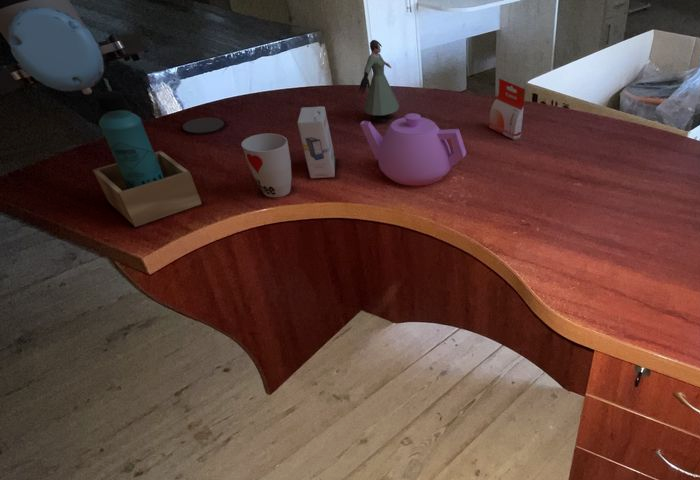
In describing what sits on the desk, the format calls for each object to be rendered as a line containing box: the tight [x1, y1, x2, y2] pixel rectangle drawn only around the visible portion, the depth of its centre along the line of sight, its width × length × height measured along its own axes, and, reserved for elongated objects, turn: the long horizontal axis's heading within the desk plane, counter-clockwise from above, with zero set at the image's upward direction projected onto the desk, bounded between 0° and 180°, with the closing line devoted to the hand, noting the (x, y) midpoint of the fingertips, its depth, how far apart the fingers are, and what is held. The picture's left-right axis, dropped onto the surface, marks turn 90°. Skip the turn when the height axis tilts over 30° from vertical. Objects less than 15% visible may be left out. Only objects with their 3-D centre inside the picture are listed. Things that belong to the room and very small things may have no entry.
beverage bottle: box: [95, 90, 165, 189], centre depth 95 cm, size 6×7×20 cm
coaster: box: [182, 116, 225, 135], centre depth 127 cm, size 9×9×1 cm
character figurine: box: [358, 39, 400, 123], centre depth 129 cm, size 16×8×18 cm, turn 163°
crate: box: [92, 150, 202, 228], centre depth 100 cm, size 12×12×6 cm
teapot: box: [359, 112, 467, 187], centre depth 112 cm, size 22×16×12 cm
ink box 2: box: [488, 78, 526, 140], centre depth 129 cm, size 3×9×12 cm, turn 42°
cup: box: [241, 133, 293, 198], centre depth 104 cm, size 8×8×10 cm
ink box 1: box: [297, 105, 336, 179], centre depth 111 cm, size 9×5×12 cm, turn 10°
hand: (76, 65), depth 83 cm, fingers open, 13 cm apart
